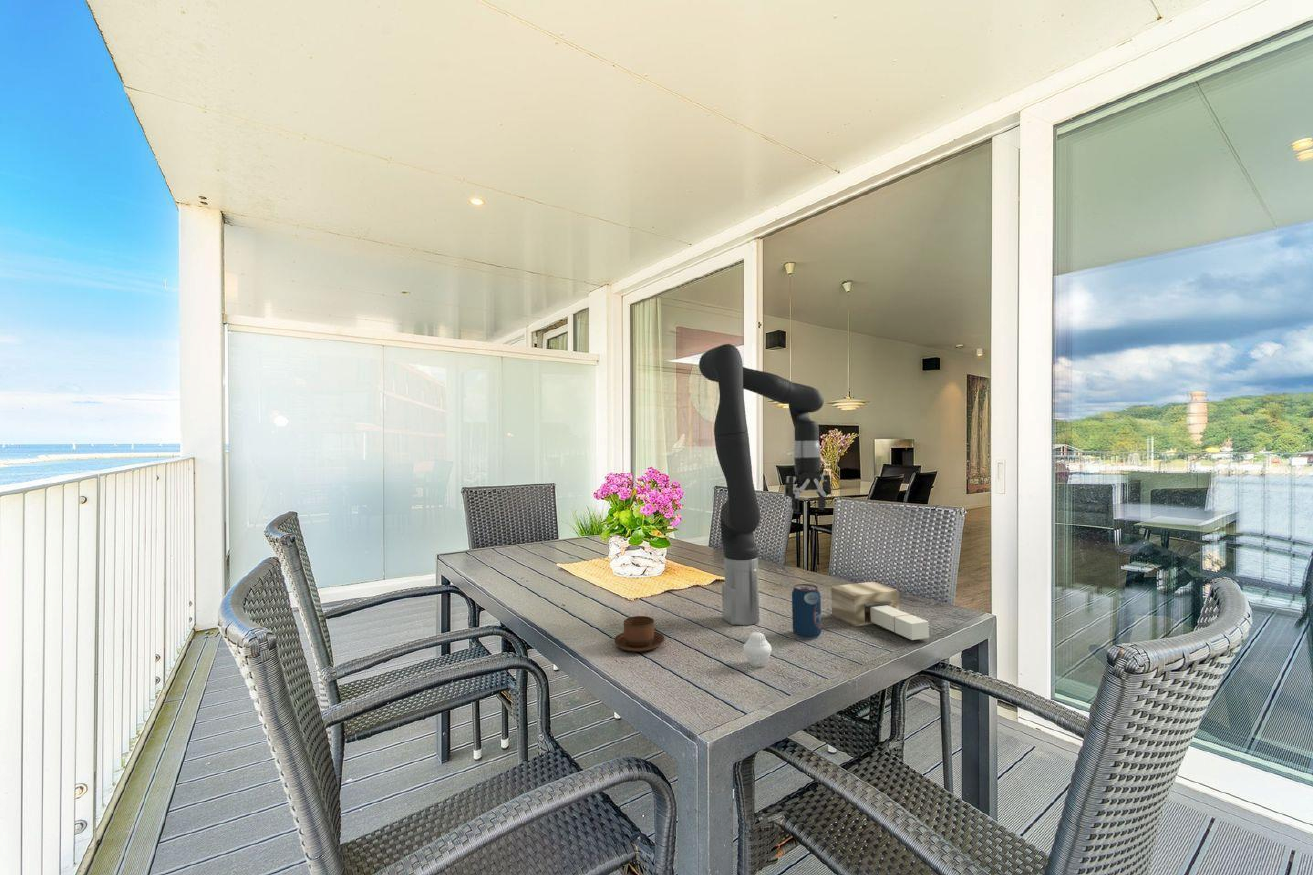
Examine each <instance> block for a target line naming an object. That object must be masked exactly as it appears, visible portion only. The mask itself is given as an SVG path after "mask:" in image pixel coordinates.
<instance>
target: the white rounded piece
mask: <svg viewBox="0 0 1313 875" xmlns="http://www.w3.org/2000/svg"><path fill="white" fill-rule="evenodd" d="M742 649H743V651H744V656H745V657H746V659H747V660H748V663H749V664H750V665H751V666H752V667H755V668H763V667H765V666H766V665H767V662H768V660H769V659H770V657H771V653H772V650H773V649H772V645H771V644H770V642H769V641H768V640H767V639H766V636H765V634H763V633H761V632H757V631H756V632H751V633H750V634H749V636H748V639H747V640H746V642H744V644H743V648H742Z"/></svg>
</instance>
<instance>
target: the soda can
mask: <svg viewBox="0 0 1313 875" xmlns="http://www.w3.org/2000/svg"><path fill="white" fill-rule="evenodd" d="M821 606H822V604H821V593H820V591H819V590H818V586H816V585H814V584H809V583H798V584H795V585H794V586H793V590H792V592H791V612H792V613H791V614H792V630H793V632H794V634H795V636H796V637H798V638H801V639H807V640H812V639H813V640H814V639H817V638H819V636H820V635H821V633H822V607H821Z"/></svg>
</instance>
